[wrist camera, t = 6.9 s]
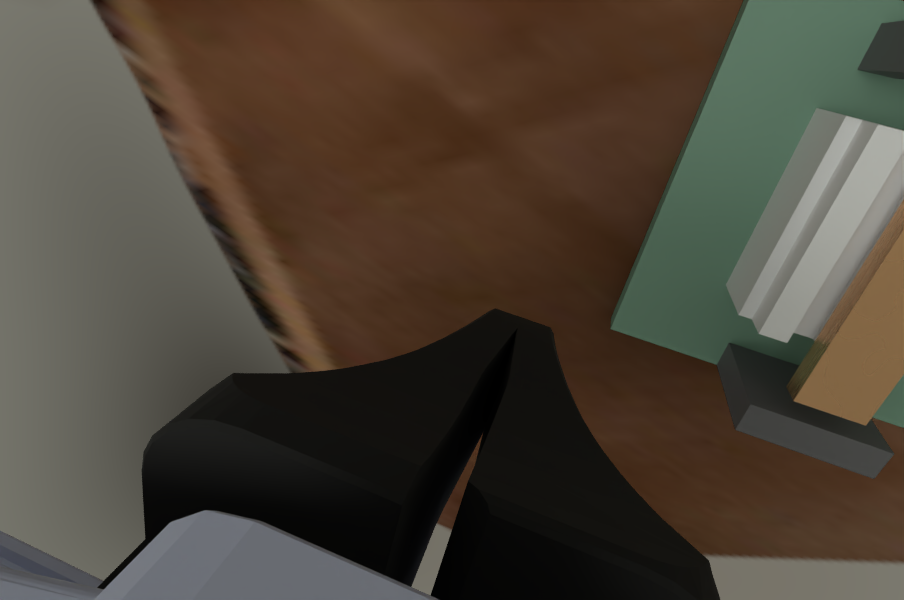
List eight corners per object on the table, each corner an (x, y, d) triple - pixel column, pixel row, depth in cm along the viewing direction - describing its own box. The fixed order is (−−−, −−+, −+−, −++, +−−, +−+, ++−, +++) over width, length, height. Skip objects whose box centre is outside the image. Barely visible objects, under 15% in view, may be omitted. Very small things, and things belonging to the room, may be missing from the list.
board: (936, 426, 20) (1048, 561, 14) (611, 317, 22) (605, 401, 16) (1223, 79, 14) (1571, 92, 9) (754, -26, 16) (814, -65, 11)
